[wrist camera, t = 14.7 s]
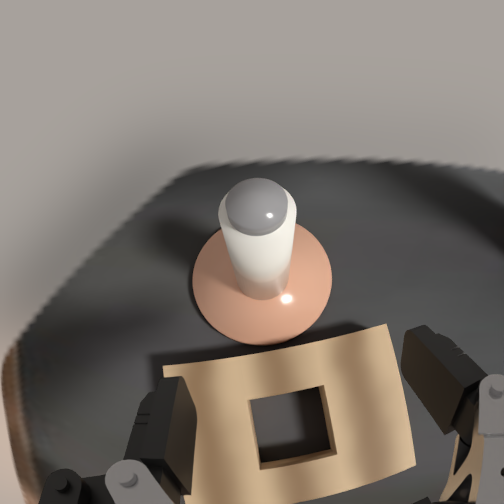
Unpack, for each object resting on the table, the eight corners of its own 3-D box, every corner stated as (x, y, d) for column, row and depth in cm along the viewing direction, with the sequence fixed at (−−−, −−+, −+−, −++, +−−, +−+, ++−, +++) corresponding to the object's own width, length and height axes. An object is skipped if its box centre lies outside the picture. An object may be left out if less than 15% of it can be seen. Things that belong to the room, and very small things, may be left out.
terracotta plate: (310, 211, 34) (311, 206, 33) (345, 329, 27) (347, 327, 26) (190, 231, 33) (188, 228, 33) (202, 356, 27) (200, 354, 26)
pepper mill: (282, 248, 31) (286, 166, 20) (294, 294, 28) (306, 228, 18) (232, 256, 31) (212, 178, 20) (240, 304, 28) (220, 243, 18)
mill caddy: (375, 331, 27) (386, 323, 24) (402, 460, 20) (415, 465, 17) (173, 369, 26) (162, 365, 24) (195, 502, 20) (187, 511, 17)
